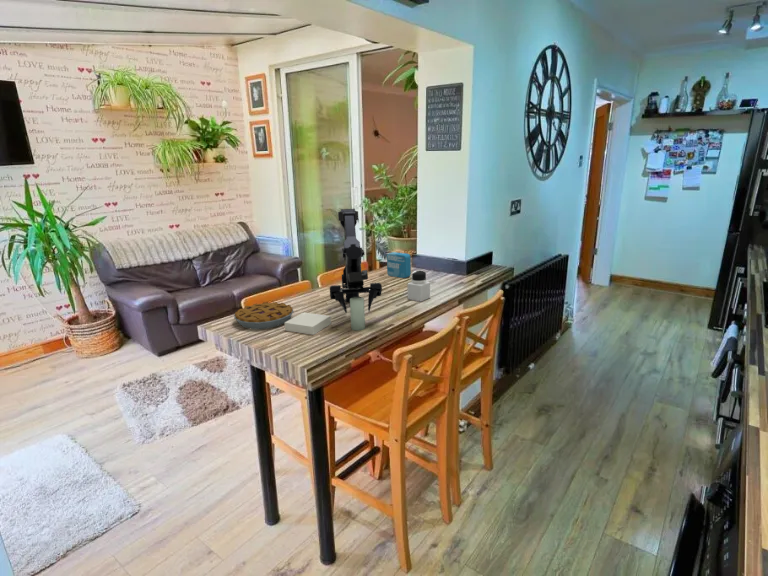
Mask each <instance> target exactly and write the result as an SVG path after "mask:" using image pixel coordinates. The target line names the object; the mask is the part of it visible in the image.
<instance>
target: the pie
mask: <svg viewBox="0 0 768 576" xmlns="http://www.w3.org/2000/svg"><path fill="white" fill-rule="evenodd" d="M294 312H295V311H294V308H293V307H292V306H291V305H290V304H286V303H284V302H281V303H279V302H276V301H275V302H269V301H268V302H265V301H264V302H262V303H253V305H246V306H244V307H243V308H240V309H238V310H236V312H235V313H234V315H233V317H234V320H236V321H237V323H238V324H239V326H241V325H242V326H241V327H243V328H245V327H246V329H250V328H251V330H265V329H271V328H274V327H279V326H281V324H282V325H283V324H284V325H285V322H287V321H288V320H290V319H292V316H293V313H294Z"/></svg>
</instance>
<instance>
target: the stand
mask: <svg viewBox="0 0 768 576" xmlns="http://www.w3.org/2000/svg"><path fill="white" fill-rule="evenodd" d="M331 324H332V316H331V315H327V314H326V315H325V314H319V313H312V312H305V311H304V312H301V313H300V314H298V315H296V316H294V317H291V318H290V320H288V321H287V322H285V323H284V330H285V331H287V332H292V333H294V332H295V333H298V334H299V333H300V334H306V335H312V336H313V335H315V334H317V333H319V332H321V330H324V329H325V328H326V327H328V326H329V325H331Z"/></svg>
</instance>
